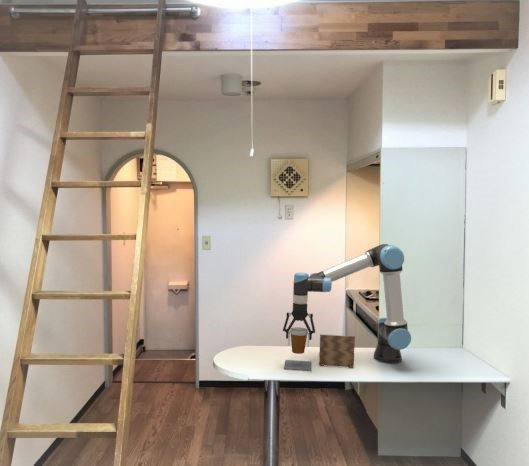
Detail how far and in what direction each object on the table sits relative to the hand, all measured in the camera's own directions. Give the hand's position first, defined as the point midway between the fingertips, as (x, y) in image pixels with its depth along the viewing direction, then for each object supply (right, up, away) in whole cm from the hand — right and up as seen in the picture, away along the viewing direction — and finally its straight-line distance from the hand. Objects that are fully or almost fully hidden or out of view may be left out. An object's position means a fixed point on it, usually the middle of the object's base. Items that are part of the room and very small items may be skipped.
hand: (298, 345), depth 254 cm
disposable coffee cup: (0, -4, 0) cm, 4 cm away
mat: (0, -11, +1) cm, 11 cm away
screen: (+20, -11, +3) cm, 23 cm away
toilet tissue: (+19, -10, +24) cm, 32 cm away
